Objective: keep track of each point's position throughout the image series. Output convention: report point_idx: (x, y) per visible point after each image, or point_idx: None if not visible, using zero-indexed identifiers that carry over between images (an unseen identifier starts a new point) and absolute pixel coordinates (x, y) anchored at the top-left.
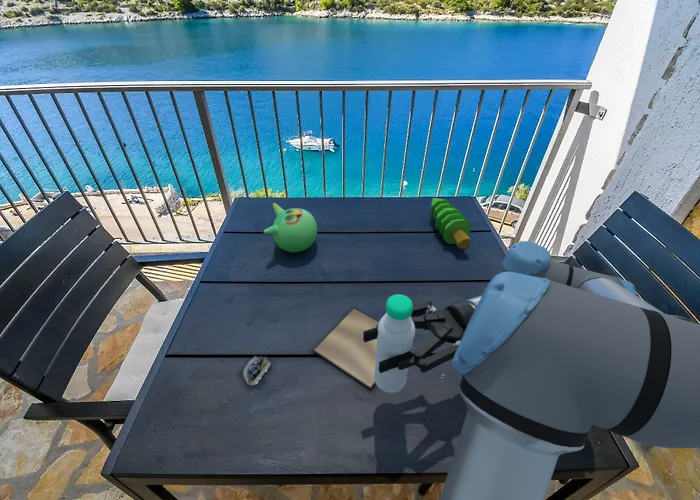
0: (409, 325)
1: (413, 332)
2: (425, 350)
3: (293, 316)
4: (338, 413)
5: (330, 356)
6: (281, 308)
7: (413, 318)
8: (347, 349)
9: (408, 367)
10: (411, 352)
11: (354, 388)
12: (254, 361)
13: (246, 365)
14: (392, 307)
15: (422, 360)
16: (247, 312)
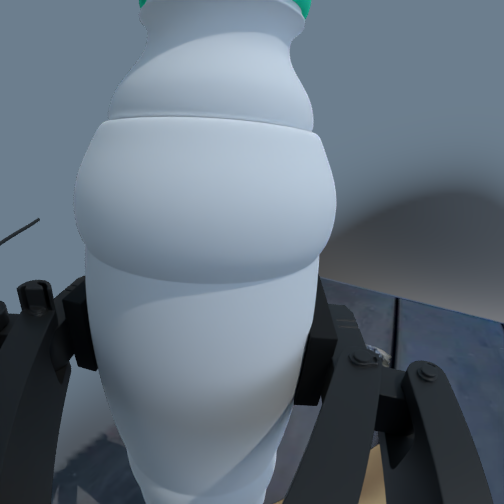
0: (120, 84)
1: (83, 161)
2: (6, 351)
3: (472, 413)
4: None
5: (373, 457)
6: (485, 397)
7: (336, 492)
8: (384, 494)
9: (139, 479)
10: (70, 301)
11: (275, 485)
12: (381, 354)
13: (375, 347)
14: None
15: (4, 310)
16: (470, 359)
